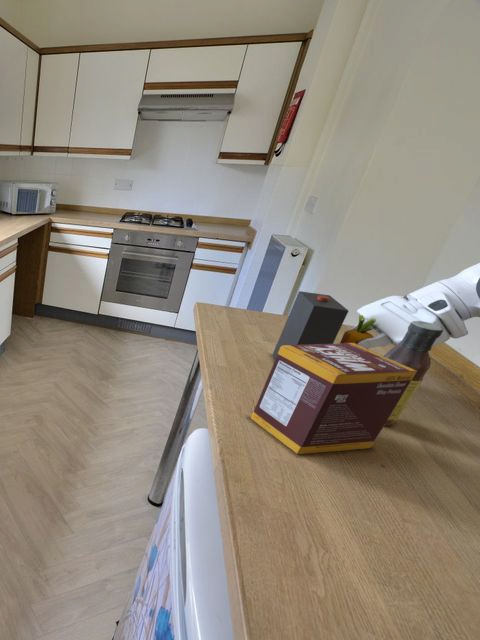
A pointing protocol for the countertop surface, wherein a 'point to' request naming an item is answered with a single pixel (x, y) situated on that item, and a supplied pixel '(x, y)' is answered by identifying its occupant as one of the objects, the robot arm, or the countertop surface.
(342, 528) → the countertop surface
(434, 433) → the countertop surface
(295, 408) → the supplement box
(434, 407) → the countertop surface
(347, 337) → the carrot
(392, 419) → the sauce bottle
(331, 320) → the box with red knob
